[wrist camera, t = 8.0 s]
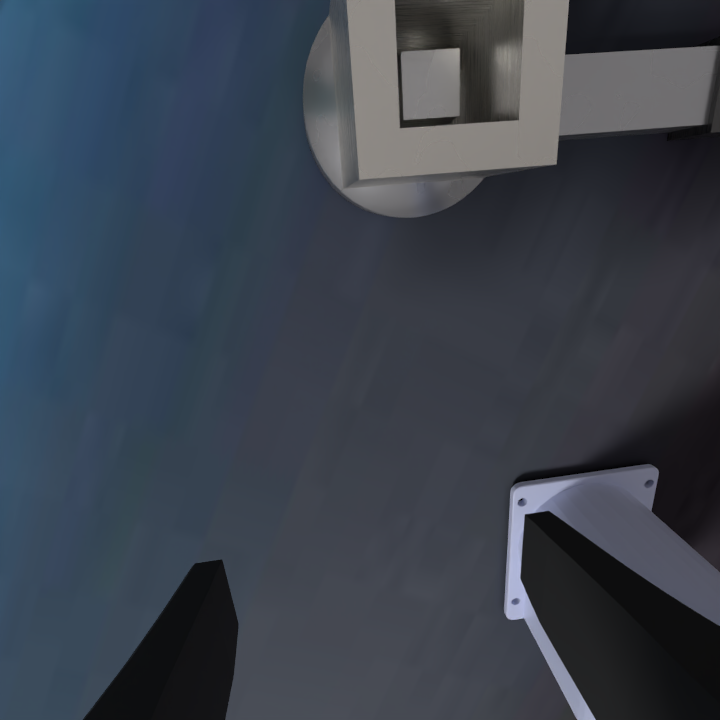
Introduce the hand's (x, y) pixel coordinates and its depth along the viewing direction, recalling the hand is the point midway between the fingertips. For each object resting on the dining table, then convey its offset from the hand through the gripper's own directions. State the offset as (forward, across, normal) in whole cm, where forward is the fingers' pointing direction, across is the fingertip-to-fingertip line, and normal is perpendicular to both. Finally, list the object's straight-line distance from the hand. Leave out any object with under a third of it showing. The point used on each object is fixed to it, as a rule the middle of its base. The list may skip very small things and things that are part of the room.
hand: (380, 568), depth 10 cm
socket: (+8, -3, -11) cm, 14 cm away
